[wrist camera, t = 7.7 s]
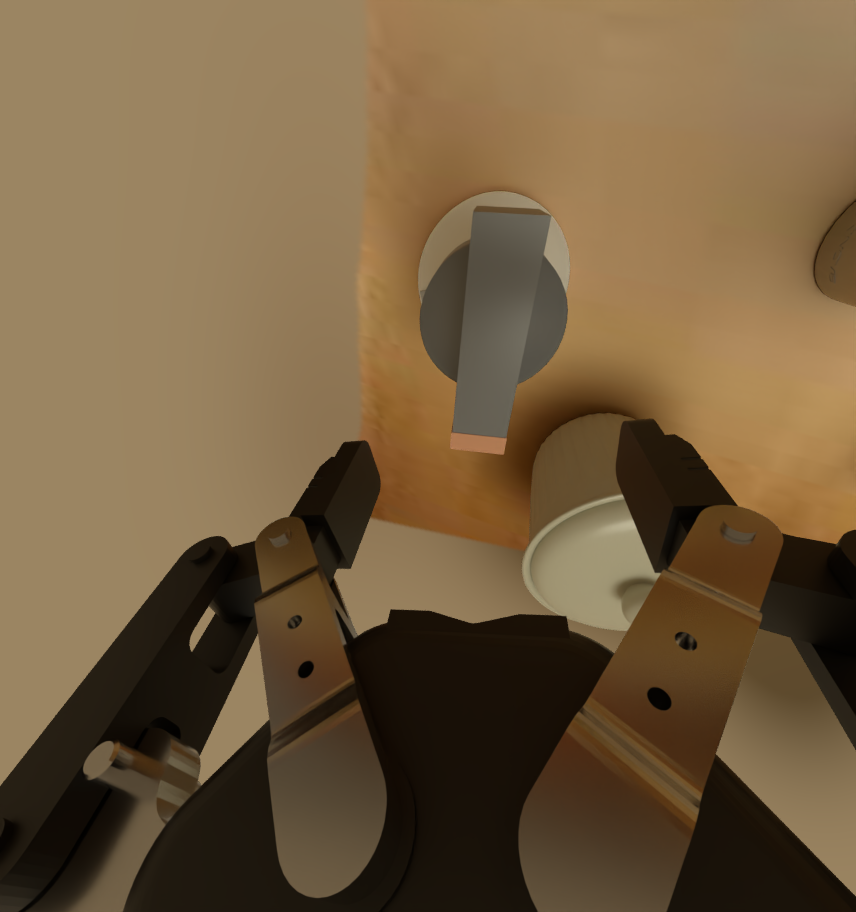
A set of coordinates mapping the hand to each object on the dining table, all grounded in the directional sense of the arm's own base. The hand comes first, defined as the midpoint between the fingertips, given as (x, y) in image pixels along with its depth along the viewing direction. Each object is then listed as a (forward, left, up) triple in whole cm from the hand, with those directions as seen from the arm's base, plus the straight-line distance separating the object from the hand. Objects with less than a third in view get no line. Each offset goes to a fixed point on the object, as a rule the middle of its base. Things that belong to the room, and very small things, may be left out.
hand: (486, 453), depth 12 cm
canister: (-10, +21, -27) cm, 36 cm away
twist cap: (0, 0, -18) cm, 18 cm away
